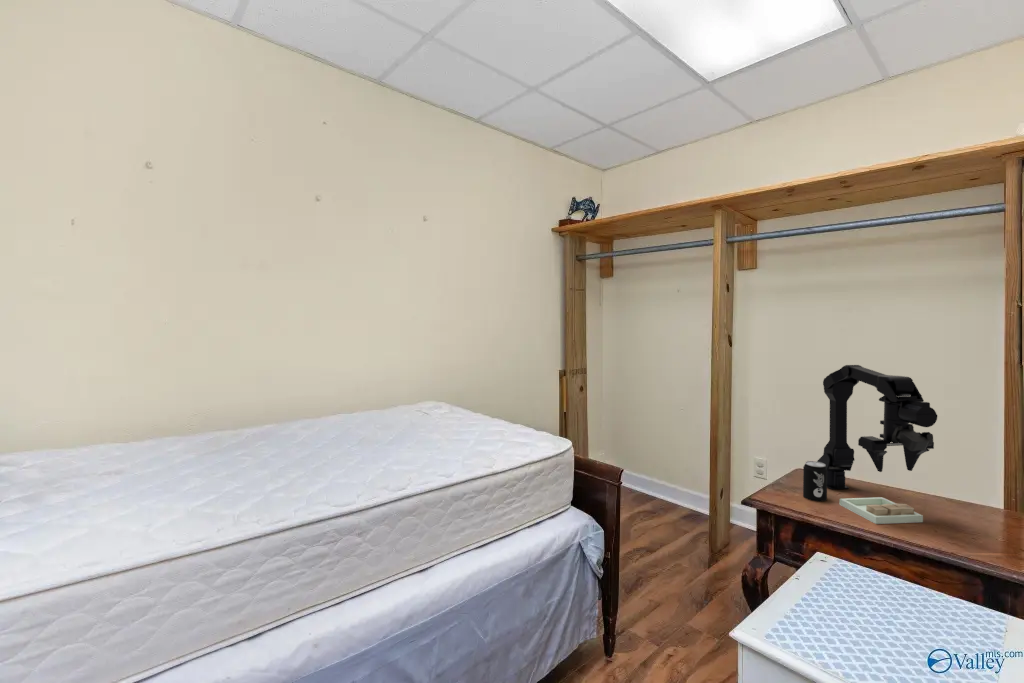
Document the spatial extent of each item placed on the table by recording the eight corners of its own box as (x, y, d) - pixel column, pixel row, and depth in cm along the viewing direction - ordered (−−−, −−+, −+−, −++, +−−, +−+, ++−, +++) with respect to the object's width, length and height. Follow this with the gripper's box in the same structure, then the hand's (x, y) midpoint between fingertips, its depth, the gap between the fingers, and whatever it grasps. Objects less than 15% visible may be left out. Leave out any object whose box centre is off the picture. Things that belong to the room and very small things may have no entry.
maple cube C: (892, 515, 139) (892, 503, 138) (904, 515, 138) (905, 503, 138) (900, 520, 135) (901, 508, 135) (913, 520, 135) (914, 508, 135)
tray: (839, 506, 147) (839, 498, 147) (882, 504, 148) (882, 497, 147) (875, 525, 133) (875, 517, 133) (922, 524, 134) (922, 515, 133)
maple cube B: (879, 516, 138) (879, 504, 138) (888, 515, 139) (888, 503, 138) (891, 521, 134) (891, 509, 134) (900, 520, 135) (900, 508, 135)
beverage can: (806, 502, 151) (807, 465, 150) (800, 494, 157) (800, 460, 157) (829, 504, 149) (830, 467, 148) (822, 496, 155) (823, 461, 155)
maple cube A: (866, 516, 138) (866, 504, 138) (877, 516, 138) (877, 504, 138) (875, 521, 134) (876, 509, 134) (887, 521, 135) (887, 509, 134)
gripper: (889, 426, 128) (887, 482, 129) (953, 424, 129) (951, 479, 130) (857, 417, 139) (856, 468, 140) (916, 415, 140) (915, 466, 141)
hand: (894, 471), depth 137 cm, fingers open, 9 cm apart
